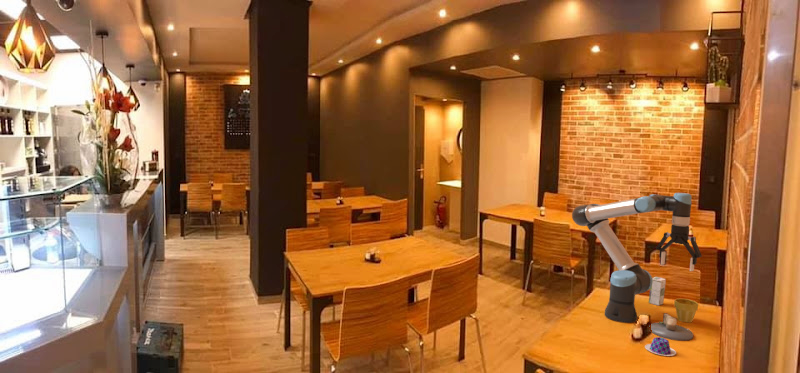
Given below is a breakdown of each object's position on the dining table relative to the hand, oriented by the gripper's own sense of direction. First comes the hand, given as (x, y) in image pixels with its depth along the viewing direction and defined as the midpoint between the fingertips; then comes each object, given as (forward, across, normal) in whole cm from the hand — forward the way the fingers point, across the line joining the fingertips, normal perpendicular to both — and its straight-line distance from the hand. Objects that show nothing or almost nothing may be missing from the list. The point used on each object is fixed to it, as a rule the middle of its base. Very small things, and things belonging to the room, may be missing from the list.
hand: (676, 267), depth 238 cm
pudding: (+29, -12, +37) cm, 49 cm away
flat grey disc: (+29, -5, +12) cm, 32 cm away
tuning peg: (+27, -3, +10) cm, 29 cm away
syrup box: (+29, +20, -25) cm, 43 cm away
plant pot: (+29, -1, -12) cm, 31 cm away
